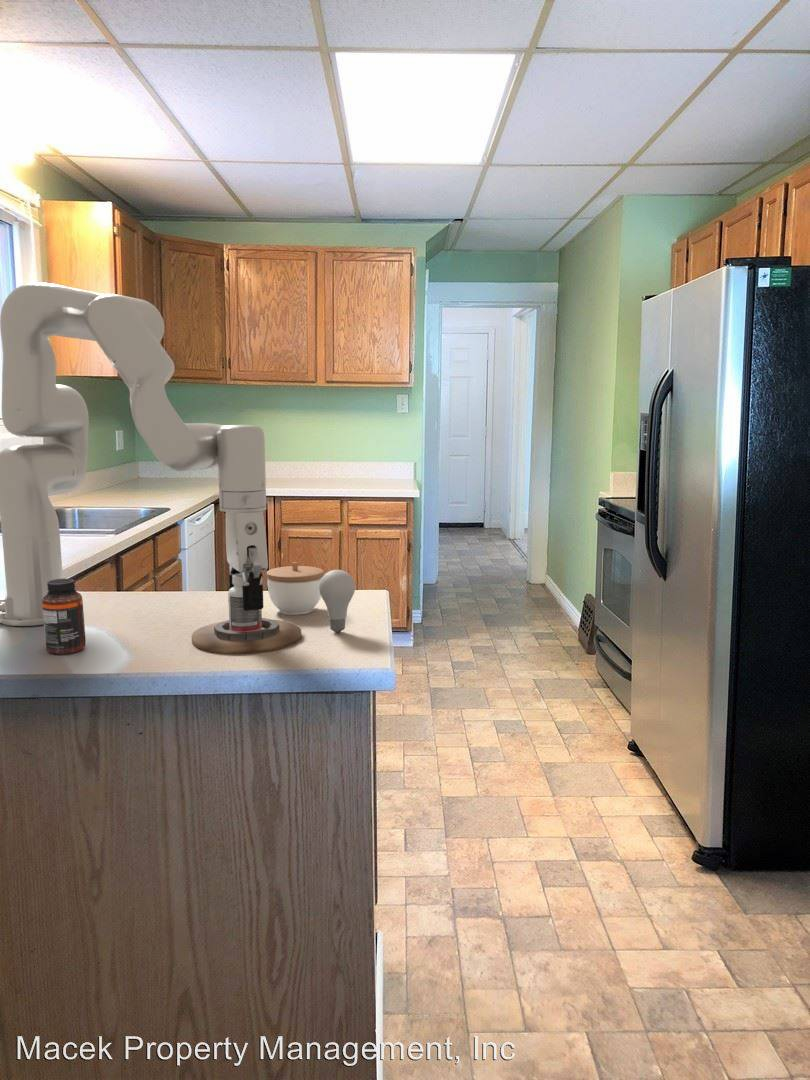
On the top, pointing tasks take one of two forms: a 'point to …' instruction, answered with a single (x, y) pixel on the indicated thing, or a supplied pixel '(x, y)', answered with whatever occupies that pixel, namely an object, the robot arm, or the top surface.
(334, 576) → the lightbulb
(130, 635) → the top surface
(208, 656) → the top surface
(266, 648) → the brown disc with ring
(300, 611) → the lidded jar
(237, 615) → the pill bottle
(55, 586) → the supplement bottle
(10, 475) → the robot arm
